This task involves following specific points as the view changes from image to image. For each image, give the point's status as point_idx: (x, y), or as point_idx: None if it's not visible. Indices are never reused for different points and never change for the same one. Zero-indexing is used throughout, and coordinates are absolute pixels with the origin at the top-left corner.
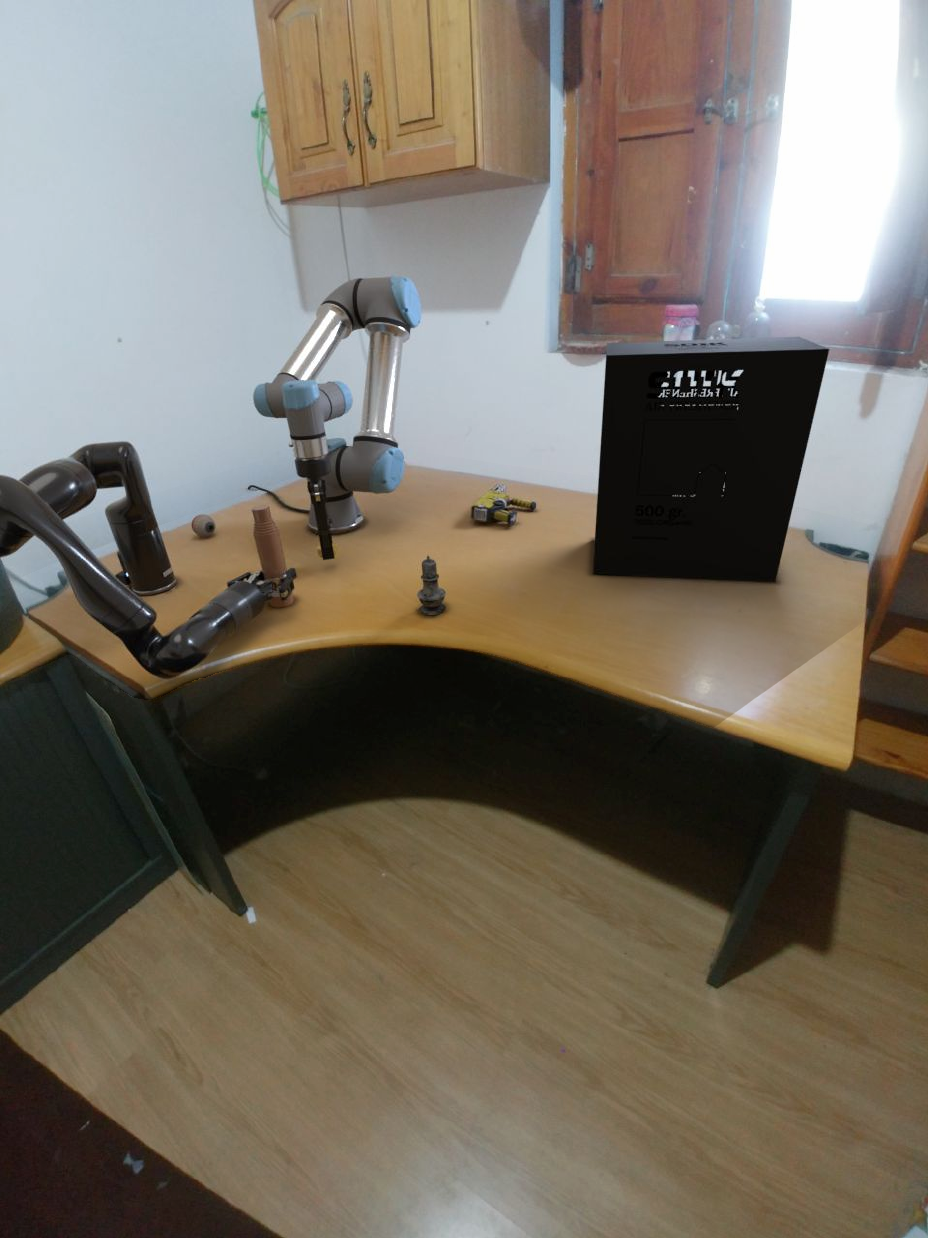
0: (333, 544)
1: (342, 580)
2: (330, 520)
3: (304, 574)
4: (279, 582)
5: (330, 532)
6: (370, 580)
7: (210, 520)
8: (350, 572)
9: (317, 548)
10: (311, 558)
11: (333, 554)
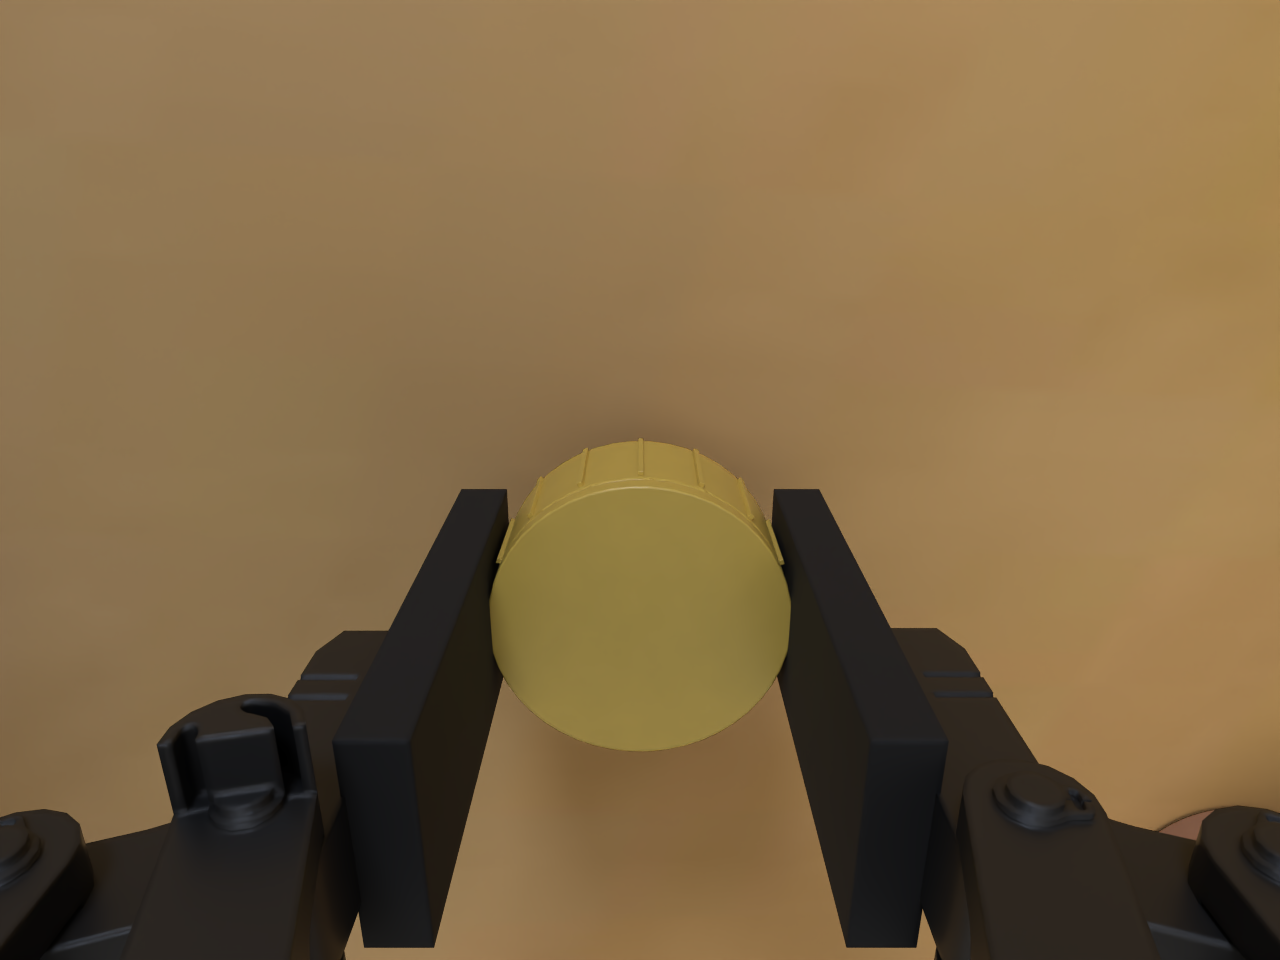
0: (595, 533)
1: (1042, 375)
2: (255, 756)
3: None
4: None
5: (449, 642)
6: (1226, 23)
7: None
8: (864, 270)
9: (659, 745)
10: None
11: (830, 522)
